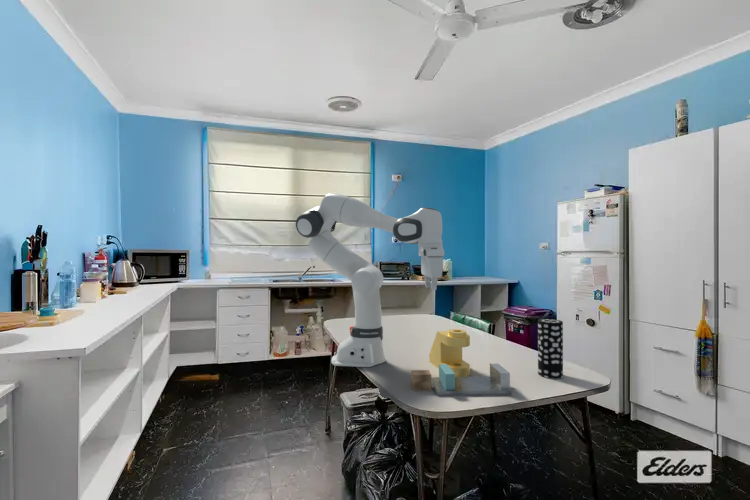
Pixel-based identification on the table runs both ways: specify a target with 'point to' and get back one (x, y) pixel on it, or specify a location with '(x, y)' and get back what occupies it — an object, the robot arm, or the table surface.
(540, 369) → the white-spotted black cylinder
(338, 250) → the robot arm
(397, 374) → the table surface
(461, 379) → the vise
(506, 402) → the table surface
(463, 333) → the clamp
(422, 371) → the block
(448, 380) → the block
